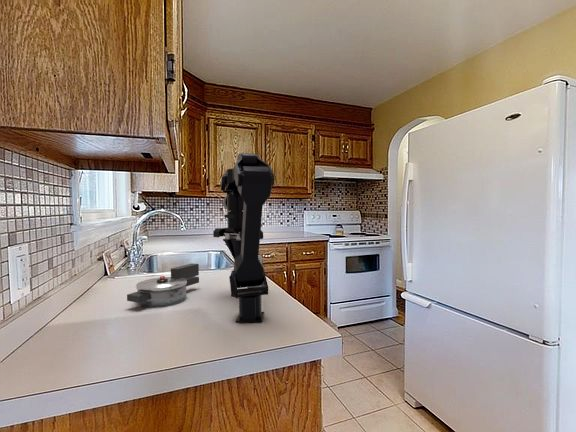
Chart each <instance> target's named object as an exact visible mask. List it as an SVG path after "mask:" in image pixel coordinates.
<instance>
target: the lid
mask: <svg viewBox="0 0 576 432" xmlns="http://www.w3.org/2000/svg"><path fill="white" fill-rule="evenodd" d="M199 271H200V268H199V263H188V264H184V265H181V266H175V267H172V268H170V276H164V275H160V276H159V277H154V278H149V279H145V280H141V281H140V282H137V283H136V284H135V288H136V290H137V291H138V290H140V291H165V290H171V289H176V288H179V287H182V286H184V285H186V284H187V278H191V277H194V276H196V277H199V275H200V272H199Z"/></svg>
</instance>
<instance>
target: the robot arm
mask: <svg viewBox="0 0 576 432" xmlns="http://www.w3.org/2000/svg"><path fill="white" fill-rule="evenodd" d="M236 159H237V161H236V162H235V163H234V166H233V167H232V168H227V169H226V170H225V172H224V173H223V174H222V176H221V178H220V179H221V180H220V191H221V193H222V194H224V193H225V194H226V195H225V197H224V198H223V200H222V205H223V208H224V209H225V210H227V214H224V218H225V219H227V227H218V228H215V229H214V230H213V233H212V234H213V235H212V236H213V238H220V237H224V238H223V239H222V241H223V242H224V243H225V245H226V246H227V248H228V250H229V252H230V254H231V256H232V258H233V270H231V271H230V275H229V278H228V279H229V285H230V286H229V287H230V297H232V298H235V299H238V315H237V317H236V319H235V323H262V322H263V319H264V315H265V311H262V296H266V295H267V296H268V295H269V285H268V284H269V283H268V281H267V276H266V272H265V269H264V267H263V266H262V264H261V262H260V259H259V258H258V256H260V254H259V253H260V241H261V240H263V239H264V231H263V230H262V227H263V226H262V225H263V223H262V217H263V207H264V204H265V203H266V202H267V201H268V199H269V198H271V194H272V187H274V185H275V174H274V171H273V169H272V167H271V165H270V164H269V163H267V162H266V161H264V160H263V159H261V157H260V156H259V154H256V153H248V152H246V153H245V152H242V153H238V154H237V158H236ZM260 285H261V287H254V286H260ZM247 287H253V288H247Z"/></svg>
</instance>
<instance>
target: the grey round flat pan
mask: <svg viewBox="0 0 576 432" xmlns="http://www.w3.org/2000/svg"><path fill="white" fill-rule="evenodd" d="M198 283H200V276H194V277H191V278H187V284H186V285H184V286H182V287H179V288H176V289H171V290H165V291H140V290H137V291H134V292H131V293H128V294H126V301H127V302H132V303H137V305H138V306H139V307H142V308H152V309H153V308H164V307H169V306H170V307H171V306H174V305H177V304H180V303H182V302H184V301H186V299H187V287H189V286H192V285H196V284H198Z"/></svg>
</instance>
